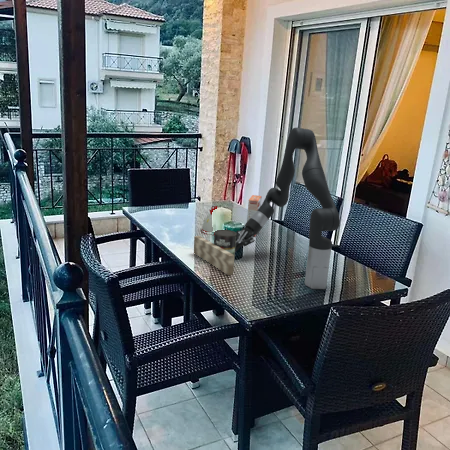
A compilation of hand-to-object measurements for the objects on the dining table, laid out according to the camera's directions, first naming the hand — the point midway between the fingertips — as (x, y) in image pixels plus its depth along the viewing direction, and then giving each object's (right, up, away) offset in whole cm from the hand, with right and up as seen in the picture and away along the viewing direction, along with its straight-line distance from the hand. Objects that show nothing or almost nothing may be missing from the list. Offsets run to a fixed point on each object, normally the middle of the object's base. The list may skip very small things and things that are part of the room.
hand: (234, 250), depth 215 cm
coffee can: (-5, -5, -2) cm, 7 cm away
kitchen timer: (-11, +8, +44) cm, 46 cm away
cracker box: (+11, +7, +46) cm, 47 cm away
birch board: (-10, -6, -5) cm, 13 cm away
